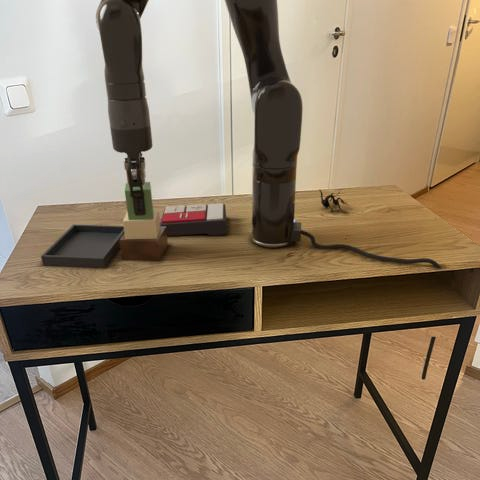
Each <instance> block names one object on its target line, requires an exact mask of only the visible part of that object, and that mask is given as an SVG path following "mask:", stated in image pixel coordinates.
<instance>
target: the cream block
mask: <svg viewBox="0 0 480 480" xmlns="http://www.w3.org/2000/svg"><path fill="white" fill-rule="evenodd" d="M160 222H161V218H160V210H159V208H153V218H152V219H137V220H129V219H128V212H127V211H126V213H125V216H124V218H123V220H122V224H123V225H122V226H124V232H125V239H157V237H158V233H159V230H160Z"/></svg>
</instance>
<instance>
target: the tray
mask: <svg viewBox="0 0 480 480" xmlns="http://www.w3.org/2000/svg"><path fill="white" fill-rule="evenodd" d="M124 233H125V232H124V225H99V224H98V225H97V224H72V225H71V226H69V228H68V229H67V230H66V231H65V232H64V233H62V235H60V237H59V238H58V239H57V240H55V241H54V243H53V244H52V245H51V246H49V248H48V249H46V251H44V252H43V253H42V254H41V255H40V258H41V262H42V266H50V267H51V266H54V267H74V268H75V267H76V268H99V269H100V268H101V269H104V268H106V267H107V265H108V264H109V263H110V261H111V260H112V259H113V258H114V256H115V255H116V253H117V252H118V251H119V249H121V248H120V241H119V240H120V238H121V237H122V236H123V235H124Z"/></svg>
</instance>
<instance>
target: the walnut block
mask: <svg viewBox="0 0 480 480" xmlns="http://www.w3.org/2000/svg"><path fill="white" fill-rule="evenodd" d="M119 241H120V248H119V249H120V254H121V259H122V260H124V261H147V262H160V261H161V259H162V257H163V255H164V253H165V251H166V249H167V248H168V246H169V241H168V236H167V229H166V226H160V230H159V233H158V237H157V239H125V233H124V235H123V236H122V237H121V238H120V240H119Z"/></svg>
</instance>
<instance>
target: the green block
mask: <svg viewBox="0 0 480 480" xmlns="http://www.w3.org/2000/svg"><path fill="white" fill-rule="evenodd" d="M145 182H146V183H145V185H144V186H143V188H144V193H145V195H144V202H145V210H146V214H145V215H141V216H136V215H135V213H134V205H133V198H131V196H130V187H129V185H128V183H125V185H124V197H125V203H126V213H127V212H128V219H129V220H137V219H152V218H153V209H154V204H153V203H154V202H153V193H152V186H151V181H145ZM133 189H134V191H141V190H140V187H133Z"/></svg>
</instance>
